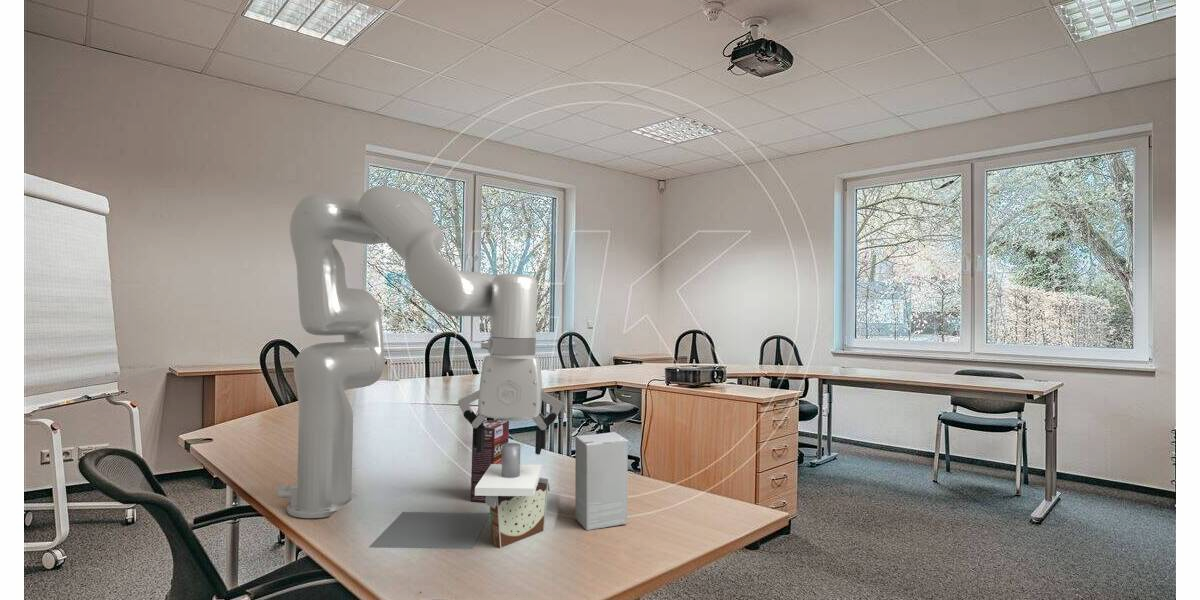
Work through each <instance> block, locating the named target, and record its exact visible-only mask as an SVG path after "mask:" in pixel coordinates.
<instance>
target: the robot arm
mask: <svg viewBox="0 0 1200 600" xmlns="http://www.w3.org/2000/svg"><path fill="white" fill-rule="evenodd" d="M290 218H291V219H290V223H289V236H290V242H291V246H292V247H291V248H292V251H293V254H294V260H295V264H296V282H297V292H298V293H297V295H298V296H297V297H298V311H299V312H298V313H299V318H300V323H301V326H302V328H303V330H304V331H305V332H306V333H308V334H310V335H314V336H321V337H323V336H326V337H327V336H331V337H332V336H343V340H344V341H335V342H333V341H332V342H331V341H330V342H320V343H316V344H312V345H309V346H307V347H305V348H304V349H303V350H301V351H300V353H299V354H297V356H296V358H295V359H294V364H293V375H294V383H295V387H296V392H297V400H298V403H297V404H298V436H297V437H298V438H297V439H298V440H297V446H298V447H297V475H296V476H297V478H296V479H297V480H296V481H297V482H296V484H295V485H290V484H281V485H280V484H279V486H278V488H277V490H276V491H277V498H278V499H285V498H286V499H290V503H288V505H287V510H286V511H287V512H286V513H287V514H288V515H290V516H291V517H295V518H300V519H320V518H330V517H331V516H333V515H334V514H335V513H337V512H338V511H339V510H341V509H342V508H343V507H344V506H346V505H347V504H348V503H350V502H351V501H352V500H354V499H355V498H356V497H358V495H357V494H355V493H354V492H352V489H353V487H352V486H353V484H352V483H353V476H352V475H353V446H354V445H353V443H354V442H353V440H354V414H353V408H352V405H351V402H350V400H349V398H348V397H347V395H346V392H345V391H347V390H353V389H361V388H365V387H370V386H372V385H374V384H375V383H377V382H378V381H379V380H380V378H381V376H382V374H383V372H384V368H385V349H384V339H383V338H384V335H383V322H382V312H381V308H380V305H379V303H378V300H377V299H376V298H375V296H373V295H372V294H371V293H370V292H368V291H367V290H364V289H361V288H353V287H352V288H349V287H348V286H347V281H346V269H345V268H346V267H345V263H344V261H343V257H342V256H341V254H340V252H339V250H338V248H337V247H336V245H335V244H334V241H335V240H338V241H343V242H350V243H357V244H361V245H364V244H365V245H379V244H387V246H389V247H390V248H391V249H392V250H393V251H394V252H395V253H396V254H397V255H398V256H400V258H402V260H404V269H405V273H406V276H407V278H408V281H409V282H410V284H411V286H412V287H413V288H414V289H415V291H416V292H417V293H419V294H420V296H421V297H422V298H424V300H426V301H427V303H429V304H430V306H432V307H433V308H435V309H436V310H437V311H439V312H440V313H441V314H444V315H446V316H450V317H490V332H489V333H490V334H489V336H490V337H489V338H488V339H486V340H481V343H480V347H481V349H484V350H487V351H488V353H489V355H484V357H483V362H482V367H481V372H480V378H479V379H480V380H479V388H478V389H479V390H477V391H474V392H472V393H470V394H468V395H466V396H464V397H462V398H461V399H459V400H458V401H457V403H458V407H459V409H460V410H461V412H462V415H463V417H464V419H465V420H467V422H469V424H470V425H471V427H472V429H473V428H474V441H473V445H474V446H477V450H476V452H477V453H480V452H482V450H483V449H484V443H485V426H484V425H483V423H484V422H485V420H486V419H496V420H500V419H501V420H532V421H533V422H534V423H535V424H536V426H537V428H536V430H535V449H534V450H535V451H534V453H535V455H541V452H542V449H545V448H546V434H547V433H546V432H547V431H546V430H547V428H548V427H549V426H550V425H551V424H552V423H553V422H555V421H556V419H557V417H558V416H559V414H560V413H561V410H562V408H563V407H564V403H563V401H562V400H560V399H558V398H556V397H555V396H552V395H550V394H549V393H548V392H545V391H544V390H543V385H542V384H543V383H542V369H541V362H540V357H539V356H536V348H537V347H536V345H537V343H536V341H537V340H536V339H537V338H536V337H537V313H538V312H537V311H538V310H537V309H538V307H537V306H538V281H537V279H536V278H535V277H534V276H533V275H529V274H523V273H521V274H520V273H500V274H498V275H497V274H496V275H494V274H489V273H483V272H481V273H480V272H476V271H467V270H466V271H465V270H459V269H457V267H455V266H454V265H453V264H451V263H450V262H449V261H448V260H447V259H446V258H445V257H444V256H443V255H442V254H441V253H440V250H441V249H442V247H443V244H444V238H445V237H444V232H443V231H442V229H441V228H440V227H439V226H438V225H437V224H436V223H435V222H434V221H433V220H434V213H433V209H432V207H431V205H430V204H429V202H428V201H427V200H426V199H425V198H424V197H422V196H421V195H419V194H416V193H414V192H410V191H407V190H403V189H399V188H396V187H394V186H393V187H392V186H387V185H378V186H373V187H370V188H368V189H367V190H365V192H363V194H361V197H360V199H355V198H352V197H348V196H345V195H344V196H343V195H339V194H335V193H329V192H327V193H326V192H317V193H312V194H308V195H306V196H305V197H303V198H301V200H300V201H299V202H298V203H297V205H296V206H295V207H294V210H293V211H292V214H291V217H290ZM477 400H478V403H477V412H478V415H477V414H476V413H475V412H474V411H473V410H472V409H471V406H470V404H471V403H473V402H474V401H475V402H476V401H477ZM543 402H544V403H546V404H547V405H550V406H551V407H552V409H551V412H550V413H549V414H548V415H547V416H546V417H545V416H544V415H543V414H542V412H541V410H542V408H543V407H542V406H543Z"/></svg>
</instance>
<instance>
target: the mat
mask: <svg viewBox="0 0 1200 600" xmlns="http://www.w3.org/2000/svg"><path fill="white" fill-rule="evenodd" d="M489 518H490V512H441V511H439V512H436V511H434V512H431V511H430V512H429V511H428V512H427V511H426V512H425V511H402V512H401V513H400V514H399V515H398V516H397V518H395V519H394V520H393V521H392V522H391V524H389V526H388V527H386V529H385V530H383V532H382V533H381V534H380V535H379V536H378V537H376V539H375V540H373V542H372V543H371V544H370V545H369V547H368V548H382V549H383V548H389V549H390V548H392V549H397V548H399V549H401V548H402V549H454V550H455V549H458V550H459V549H460V550H461V549H463V550H467V549H468V550H470V549H471V550H473V547H474V546H475V544H476V542H477V540H478V538H479V537H480V534H481V533H482V531H483V529H484V527H485V525H486V524H487V521H488V520H489Z"/></svg>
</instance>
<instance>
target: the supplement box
mask: <svg viewBox="0 0 1200 600" xmlns="http://www.w3.org/2000/svg"><path fill="white" fill-rule="evenodd" d="M483 425H484V426H485V443H484V449H483V450H482V452H480V453H477V452H476V450H477V446H474V445H473V441H474V428H473V427H472V445H471V446H472V447H471V477H470V503H480V504H486V502H485V499H486V496H475V487H476V485H477V484H478V482H479V481H480V480H481V478H482V477H483V475H484V474H485V472H486V471H487V469H488V468H489V466H490V465H491V464H502V445H503V444H506V443H509V437H510V436H509V435H510V433H509V431H510V429H509V428H510V420H505V419H501V420H500V419H488V420H486V421H483Z"/></svg>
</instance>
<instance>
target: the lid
mask: <svg viewBox="0 0 1200 600" xmlns="http://www.w3.org/2000/svg"><path fill="white" fill-rule="evenodd" d="M542 472H543V465H542V464H521V444H520V443H517V442H508V443H506V444H503V445H502V464H491V465H490V466H489V468H488V469H487V471H486V472H485V474H484V475H483V477H482V478H481V480H480V481H479V482H478V484H477V485H476V487H475V496H534V493H535V490H536V487H537V484H538V481H539V478H541V475H542Z"/></svg>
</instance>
